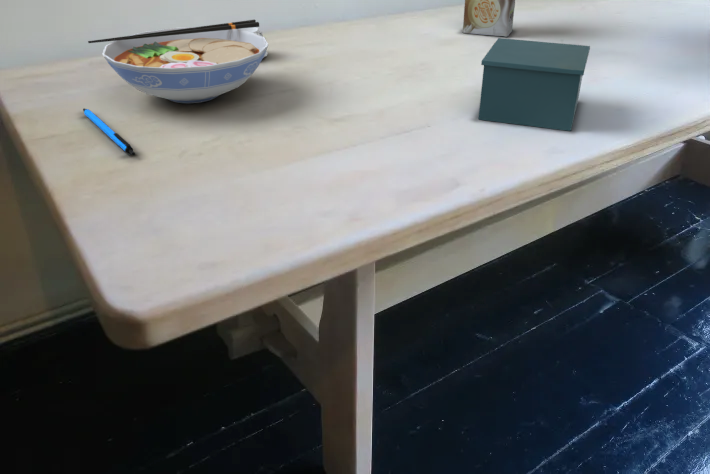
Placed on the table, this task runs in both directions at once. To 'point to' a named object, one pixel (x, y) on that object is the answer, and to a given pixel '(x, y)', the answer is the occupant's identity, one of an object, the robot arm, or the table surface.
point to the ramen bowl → (187, 60)
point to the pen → (109, 132)
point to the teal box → (532, 83)
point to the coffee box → (488, 17)
